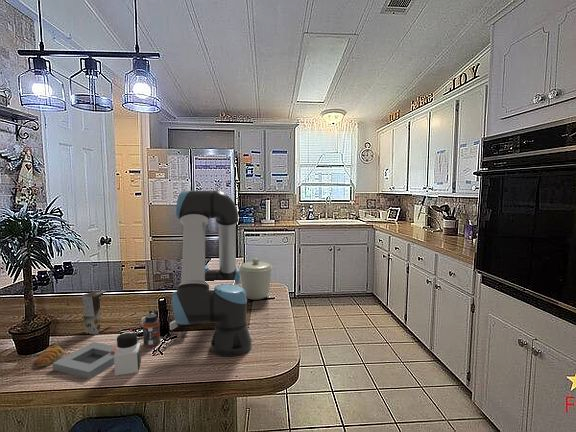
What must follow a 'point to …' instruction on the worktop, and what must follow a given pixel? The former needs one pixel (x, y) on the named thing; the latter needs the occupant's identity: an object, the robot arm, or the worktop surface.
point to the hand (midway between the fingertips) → (156, 324)
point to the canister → (256, 278)
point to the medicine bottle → (127, 354)
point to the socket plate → (87, 360)
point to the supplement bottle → (151, 330)
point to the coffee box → (92, 311)
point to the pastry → (49, 356)
